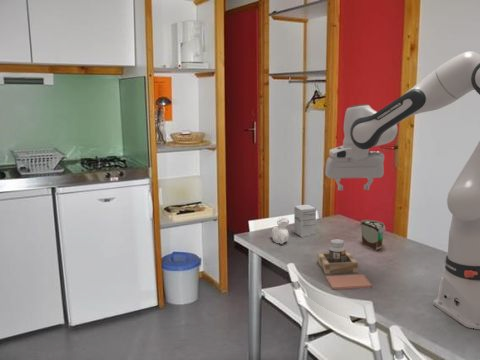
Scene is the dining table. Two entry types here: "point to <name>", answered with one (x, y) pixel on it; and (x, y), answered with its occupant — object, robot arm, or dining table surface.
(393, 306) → the dining table surface
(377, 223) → the food container
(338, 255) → the pill bottle
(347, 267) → the block
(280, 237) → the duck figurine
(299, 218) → the supplement box
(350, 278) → the mat
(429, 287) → the dining table surface
